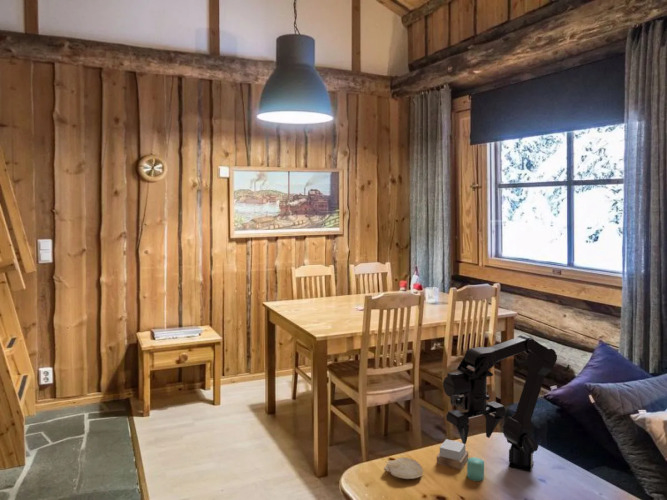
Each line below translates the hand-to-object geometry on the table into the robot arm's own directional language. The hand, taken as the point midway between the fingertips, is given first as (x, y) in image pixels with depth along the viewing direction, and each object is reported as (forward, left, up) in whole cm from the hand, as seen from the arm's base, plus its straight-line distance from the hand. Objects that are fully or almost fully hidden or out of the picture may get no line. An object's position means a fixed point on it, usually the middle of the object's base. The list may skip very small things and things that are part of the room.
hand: (476, 440), depth 163 cm
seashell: (+20, +9, -12) cm, 25 cm away
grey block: (+9, -6, -9) cm, 14 cm away
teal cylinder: (0, 0, -12) cm, 12 cm away
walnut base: (+9, -6, -12) cm, 16 cm away
